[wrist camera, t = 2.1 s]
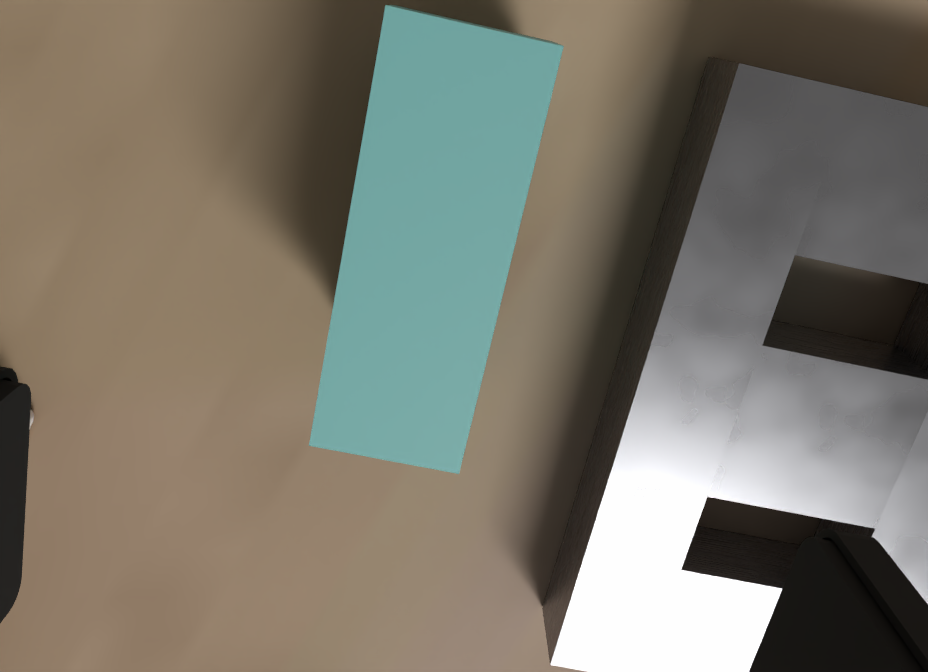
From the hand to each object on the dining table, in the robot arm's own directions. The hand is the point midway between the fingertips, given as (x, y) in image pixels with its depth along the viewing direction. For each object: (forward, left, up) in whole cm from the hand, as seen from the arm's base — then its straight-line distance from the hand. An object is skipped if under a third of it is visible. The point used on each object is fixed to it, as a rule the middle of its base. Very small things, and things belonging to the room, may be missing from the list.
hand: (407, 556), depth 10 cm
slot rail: (+4, +13, -18) cm, 22 cm away
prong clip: (0, 0, -18) cm, 18 cm away
